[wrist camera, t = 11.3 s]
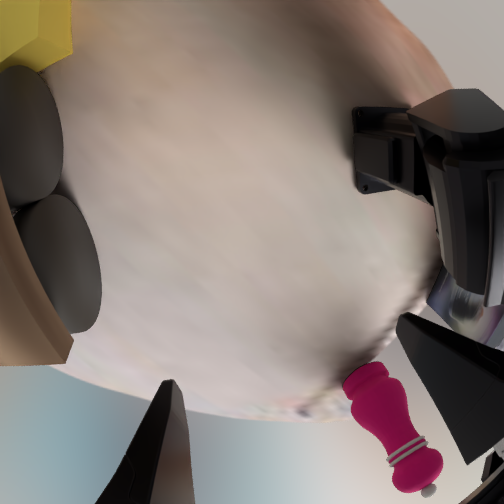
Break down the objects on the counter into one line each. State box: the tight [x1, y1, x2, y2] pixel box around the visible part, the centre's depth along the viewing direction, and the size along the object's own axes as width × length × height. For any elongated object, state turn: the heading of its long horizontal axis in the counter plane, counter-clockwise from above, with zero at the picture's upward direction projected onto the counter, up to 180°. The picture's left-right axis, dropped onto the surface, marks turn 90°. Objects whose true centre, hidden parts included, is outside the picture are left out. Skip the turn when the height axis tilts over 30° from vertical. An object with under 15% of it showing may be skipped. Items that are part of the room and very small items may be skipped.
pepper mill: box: [343, 362, 443, 498], centre depth 22 cm, size 7×7×20 cm
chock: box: [0, 0, 73, 73], centre depth 7 cm, size 5×7×5 cm
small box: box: [426, 264, 504, 348], centre depth 21 cm, size 11×6×10 cm, turn 173°
